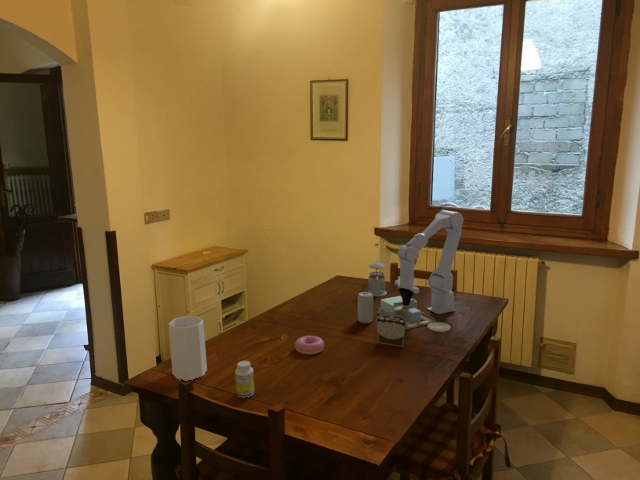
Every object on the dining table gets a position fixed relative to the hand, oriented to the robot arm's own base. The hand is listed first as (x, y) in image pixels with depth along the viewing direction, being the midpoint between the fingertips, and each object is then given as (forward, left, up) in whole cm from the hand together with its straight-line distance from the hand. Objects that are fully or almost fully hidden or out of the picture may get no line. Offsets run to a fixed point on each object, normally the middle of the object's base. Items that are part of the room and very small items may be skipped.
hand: (406, 305), depth 219 cm
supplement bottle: (+81, +29, -6) cm, 86 cm away
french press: (-8, -35, -6) cm, 37 cm away
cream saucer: (-5, +15, -6) cm, 17 cm away
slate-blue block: (0, +5, -6) cm, 7 cm away
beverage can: (+17, -5, -6) cm, 19 cm away
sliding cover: (0, -6, -4) cm, 7 cm away
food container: (+19, +18, -6) cm, 27 cm away
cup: (+93, +7, -6) cm, 93 cm away
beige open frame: (0, 0, -6) cm, 6 cm away
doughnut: (+50, +9, -6) cm, 51 cm away
